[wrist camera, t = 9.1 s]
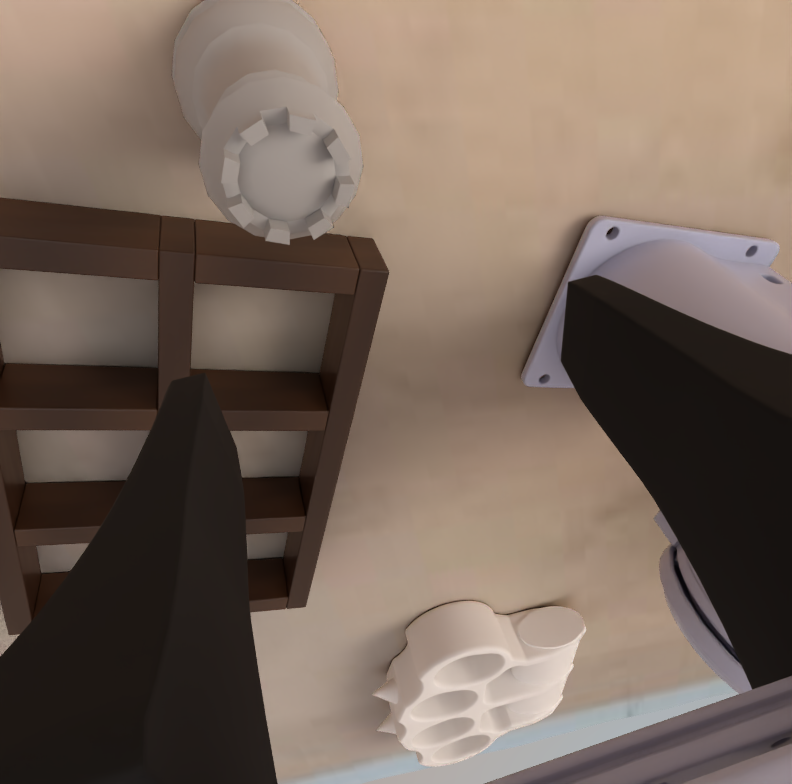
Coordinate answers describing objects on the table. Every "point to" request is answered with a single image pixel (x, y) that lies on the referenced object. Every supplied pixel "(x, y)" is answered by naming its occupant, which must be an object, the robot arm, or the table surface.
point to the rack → (146, 387)
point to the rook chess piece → (267, 117)
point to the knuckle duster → (476, 677)
